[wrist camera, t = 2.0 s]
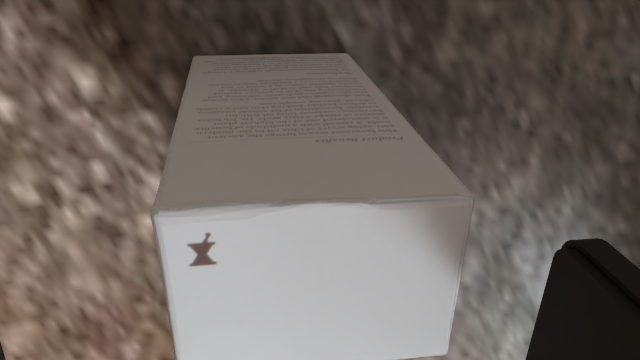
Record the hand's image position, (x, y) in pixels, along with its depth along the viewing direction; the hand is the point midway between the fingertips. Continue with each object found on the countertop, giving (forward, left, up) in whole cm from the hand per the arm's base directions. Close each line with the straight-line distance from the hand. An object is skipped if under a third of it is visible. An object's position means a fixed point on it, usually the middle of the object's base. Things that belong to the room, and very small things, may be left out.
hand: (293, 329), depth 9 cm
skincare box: (-1, 0, -13) cm, 13 cm away
